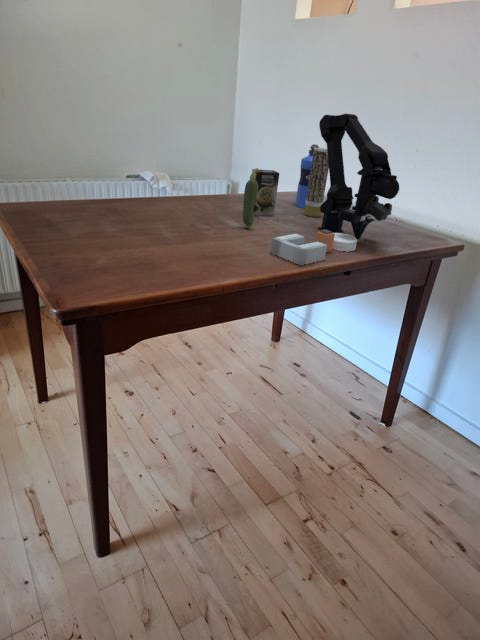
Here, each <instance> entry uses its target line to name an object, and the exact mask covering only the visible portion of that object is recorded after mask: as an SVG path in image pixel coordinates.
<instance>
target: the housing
mask: <svg viewBox="0 0 480 640" xmlns="http://www.w3.org/2000/svg"><path fill="white" fill-rule="evenodd" d="M305 238H306V237H305V236H304V235H301V234H298V233H293V234H287V235H282V236H276V237H273V238H272V239H271V244H270V245H271V246H270V254H271V253H272V254H271V255H274V256H276V255H277V257H278V256H279V258H281V257H282V258H281V259H283V258H284V259H283V260H286V261H288V260H289V261H288V262H290V261H291V262H290V263H293V262H294V263H293V264H295V263H296V264H295V265H297V264H299V265H298V266H300V265H302V266H305V265H304V264H306V265H310V264H314V263H317V261H318V262H321V261H325V258H326V253H327V252H326V248H327V245H325V244H323V243H320V242H315V241H314V242H311V243H310V242H309V243H305ZM313 262H314V263H313ZM309 263H310V264H309Z"/></svg>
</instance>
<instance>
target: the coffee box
mask: <svg viewBox="0 0 480 640" xmlns="http://www.w3.org/2000/svg"><path fill="white" fill-rule="evenodd" d="M254 169H255V168H252V169H251V173H252V172H253V171H254ZM258 170H259V172H256V179H255V180H256V181H257V183H258V192H257V196H256V200H255V202H254V208H253V216H267V217H270V216H273V217H274V216H275V211H276V210H275V209H276V202H277V201H276V200H277V196H278V195H277V193H278V186H279V180H280V172H278V171H277V170H273V169H272V170H271V169H270V170H269V169H258Z"/></svg>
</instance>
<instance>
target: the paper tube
mask: <svg viewBox="0 0 480 640" xmlns="http://www.w3.org/2000/svg"><path fill="white" fill-rule="evenodd" d="M328 175H329V163H328V153H327V148H324V147H319V148H314V150H313V157H312V163H311V169H310V176H309V182H308V189H307V195H306V201H305V208H303V209H304V210H303V214H304V215H305V216H307V217H310V218H311V217H313V218H319V217H320V216H321V215H322V212H320V206H321V205H322V204H323V203H324V198H325V191H326V188H327V187H326V185H327V180H328Z"/></svg>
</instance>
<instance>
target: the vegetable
mask: <svg viewBox="0 0 480 640" xmlns="http://www.w3.org/2000/svg"><path fill="white" fill-rule="evenodd" d="M253 169H254V171H253V172H252V171H251V174H250V176H249V180H247V182H246V184H245V187H244V191H243V192H244V193H243V194H244V195H243V207H242V220H243V224H244V226H246V228H247V229H251V227H252V226H253V224H254V215H253V208H254V202H255V200H256V196H257V192H258V183H257V181H256V180H255V179H256V172H259V170H260V169H259V168H258V167H257V168H256V167H255V168H253Z"/></svg>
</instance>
